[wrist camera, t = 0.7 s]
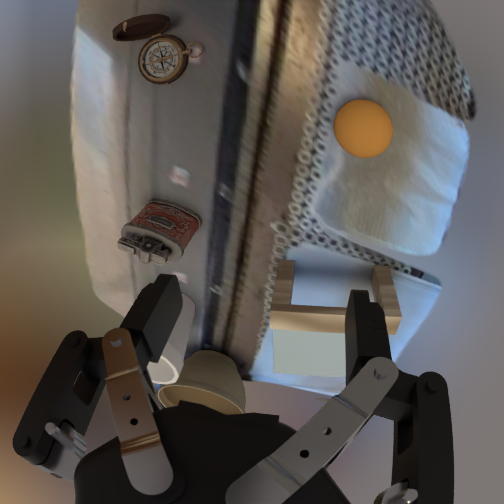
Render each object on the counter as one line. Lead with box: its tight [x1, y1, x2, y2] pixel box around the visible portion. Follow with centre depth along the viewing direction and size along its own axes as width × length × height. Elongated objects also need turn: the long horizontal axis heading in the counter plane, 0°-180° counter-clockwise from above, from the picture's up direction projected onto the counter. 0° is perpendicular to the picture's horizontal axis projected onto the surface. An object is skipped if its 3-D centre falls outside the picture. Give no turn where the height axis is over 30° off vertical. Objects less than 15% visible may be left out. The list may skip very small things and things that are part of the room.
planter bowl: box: [158, 350, 246, 415], centre depth 54 cm, size 16×16×11 cm
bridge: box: [270, 260, 402, 335], centre depth 37 cm, size 3×15×10 cm, turn 93°
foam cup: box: [147, 293, 195, 384], centre depth 45 cm, size 10×9×13 cm
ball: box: [334, 99, 393, 158], centre depth 27 cm, size 6×6×6 cm
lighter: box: [117, 199, 202, 266], centre depth 36 cm, size 8×3×10 cm, turn 73°
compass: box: [113, 14, 202, 84], centre depth 26 cm, size 8×8×7 cm
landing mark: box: [273, 329, 346, 377], centre depth 51 cm, size 14×14×1 cm
